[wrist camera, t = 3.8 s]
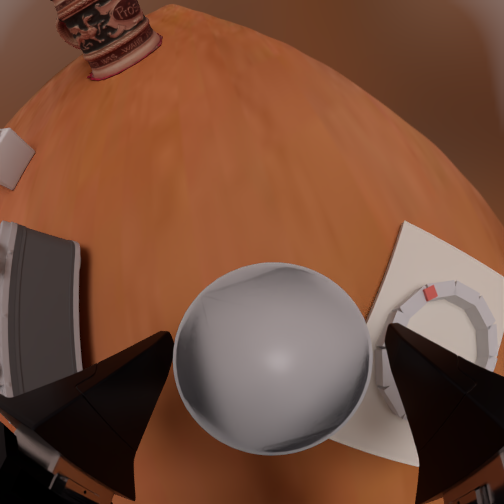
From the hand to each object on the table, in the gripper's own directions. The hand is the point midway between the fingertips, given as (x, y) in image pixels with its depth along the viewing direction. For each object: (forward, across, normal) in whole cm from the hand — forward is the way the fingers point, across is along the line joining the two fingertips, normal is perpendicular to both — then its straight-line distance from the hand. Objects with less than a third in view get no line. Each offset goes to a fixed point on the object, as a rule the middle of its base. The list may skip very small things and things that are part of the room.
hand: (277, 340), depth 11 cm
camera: (+6, -19, -6) cm, 21 cm away
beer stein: (+38, -26, +26) cm, 53 cm away
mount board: (+4, +11, -7) cm, 13 cm away
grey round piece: (+5, 0, -6) cm, 8 cm away
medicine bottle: (+22, -41, +10) cm, 47 cm away
